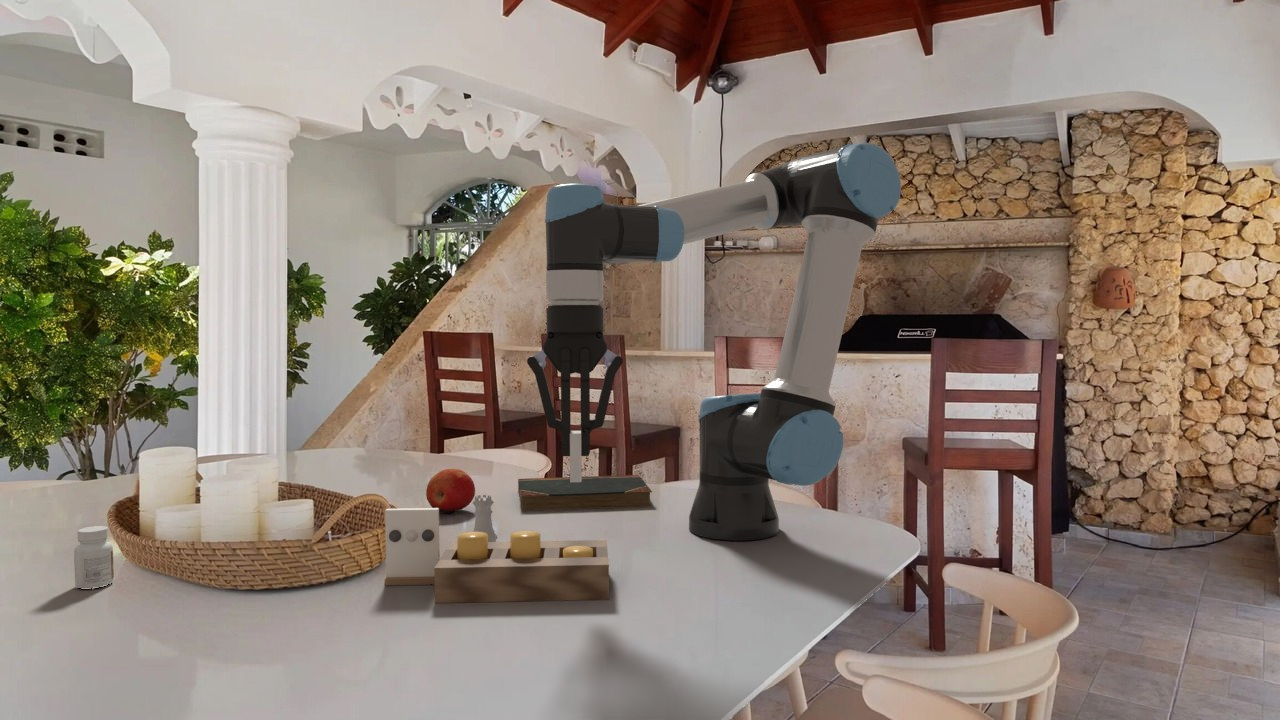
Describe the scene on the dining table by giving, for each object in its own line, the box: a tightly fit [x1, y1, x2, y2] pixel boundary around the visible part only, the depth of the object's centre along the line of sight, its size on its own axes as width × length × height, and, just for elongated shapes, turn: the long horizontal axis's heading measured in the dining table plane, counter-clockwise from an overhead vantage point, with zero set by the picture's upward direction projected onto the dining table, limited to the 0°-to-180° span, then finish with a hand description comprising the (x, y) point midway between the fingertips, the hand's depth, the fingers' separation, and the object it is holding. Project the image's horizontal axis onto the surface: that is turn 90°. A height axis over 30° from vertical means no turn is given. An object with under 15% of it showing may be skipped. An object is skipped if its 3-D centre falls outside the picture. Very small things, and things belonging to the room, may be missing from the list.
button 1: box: [456, 531, 488, 560], centre depth 114 cm, size 4×4×4 cm
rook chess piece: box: [472, 494, 498, 542], centre depth 134 cm, size 4×4×8 cm
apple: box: [425, 468, 476, 514], centre depth 157 cm, size 8×8×8 cm
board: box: [434, 539, 610, 604], centre depth 115 cm, size 22×12×4 cm, turn 94°
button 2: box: [563, 546, 593, 558], centre depth 115 cm, size 4×4×4 cm
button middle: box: [509, 530, 541, 559], centre depth 114 cm, size 4×4×4 cm
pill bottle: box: [73, 525, 115, 589], centre depth 115 cm, size 4×4×8 cm
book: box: [517, 474, 653, 512], centre depth 169 cm, size 17×4×25 cm
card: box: [384, 507, 441, 586], centre depth 116 cm, size 7×3×10 cm, turn 94°
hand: (575, 480), depth 114 cm, fingers closed
